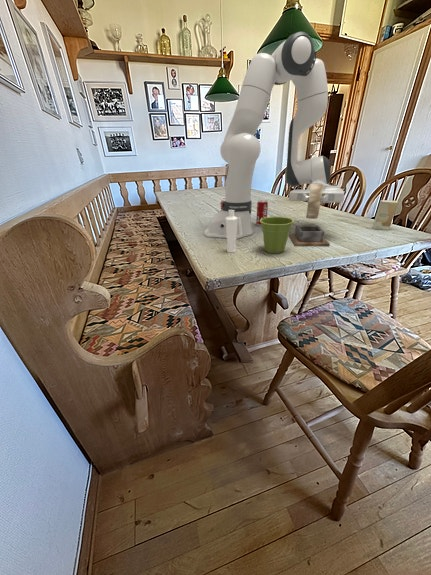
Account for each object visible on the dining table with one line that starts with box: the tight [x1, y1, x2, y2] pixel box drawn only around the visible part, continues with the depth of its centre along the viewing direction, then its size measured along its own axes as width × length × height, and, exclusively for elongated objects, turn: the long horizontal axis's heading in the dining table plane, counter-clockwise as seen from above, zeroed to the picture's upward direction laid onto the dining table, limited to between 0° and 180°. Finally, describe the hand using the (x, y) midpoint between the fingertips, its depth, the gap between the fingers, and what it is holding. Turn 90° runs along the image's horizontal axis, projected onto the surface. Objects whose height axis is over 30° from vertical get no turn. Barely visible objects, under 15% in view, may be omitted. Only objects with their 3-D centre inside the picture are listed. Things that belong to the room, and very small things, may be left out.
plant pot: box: [260, 216, 295, 254], centre depth 90 cm, size 12×12×11 cm
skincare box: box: [372, 199, 399, 231], centre depth 111 cm, size 6×4×12 cm
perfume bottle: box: [225, 210, 238, 253], centre depth 90 cm, size 5×4×15 cm
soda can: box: [255, 199, 269, 227], centre depth 122 cm, size 5×5×12 cm
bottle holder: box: [288, 225, 330, 247], centre depth 100 cm, size 13×13×5 cm
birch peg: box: [305, 184, 323, 220], centre depth 94 cm, size 4×4×12 cm
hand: (314, 199), depth 93 cm, fingers closed on birch peg, 4 cm apart
